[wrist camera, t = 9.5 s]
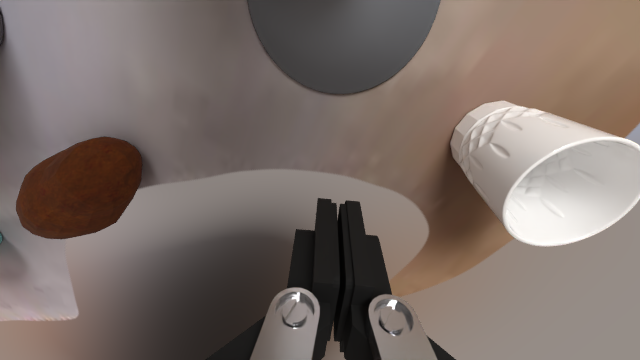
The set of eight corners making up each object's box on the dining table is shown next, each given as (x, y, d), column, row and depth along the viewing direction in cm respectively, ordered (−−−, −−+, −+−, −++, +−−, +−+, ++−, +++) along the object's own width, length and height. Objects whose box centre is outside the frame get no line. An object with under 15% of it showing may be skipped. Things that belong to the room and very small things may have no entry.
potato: (175, 167, 27) (124, 217, 20) (115, 221, 31) (55, 278, 24) (105, 108, 24) (17, 143, 17) (49, 176, 28) (-42, 226, 21)
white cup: (550, 133, 24) (672, 195, 16) (473, 188, 27) (540, 263, 19) (504, 72, 22) (619, 106, 13) (425, 140, 25) (477, 202, 16)
